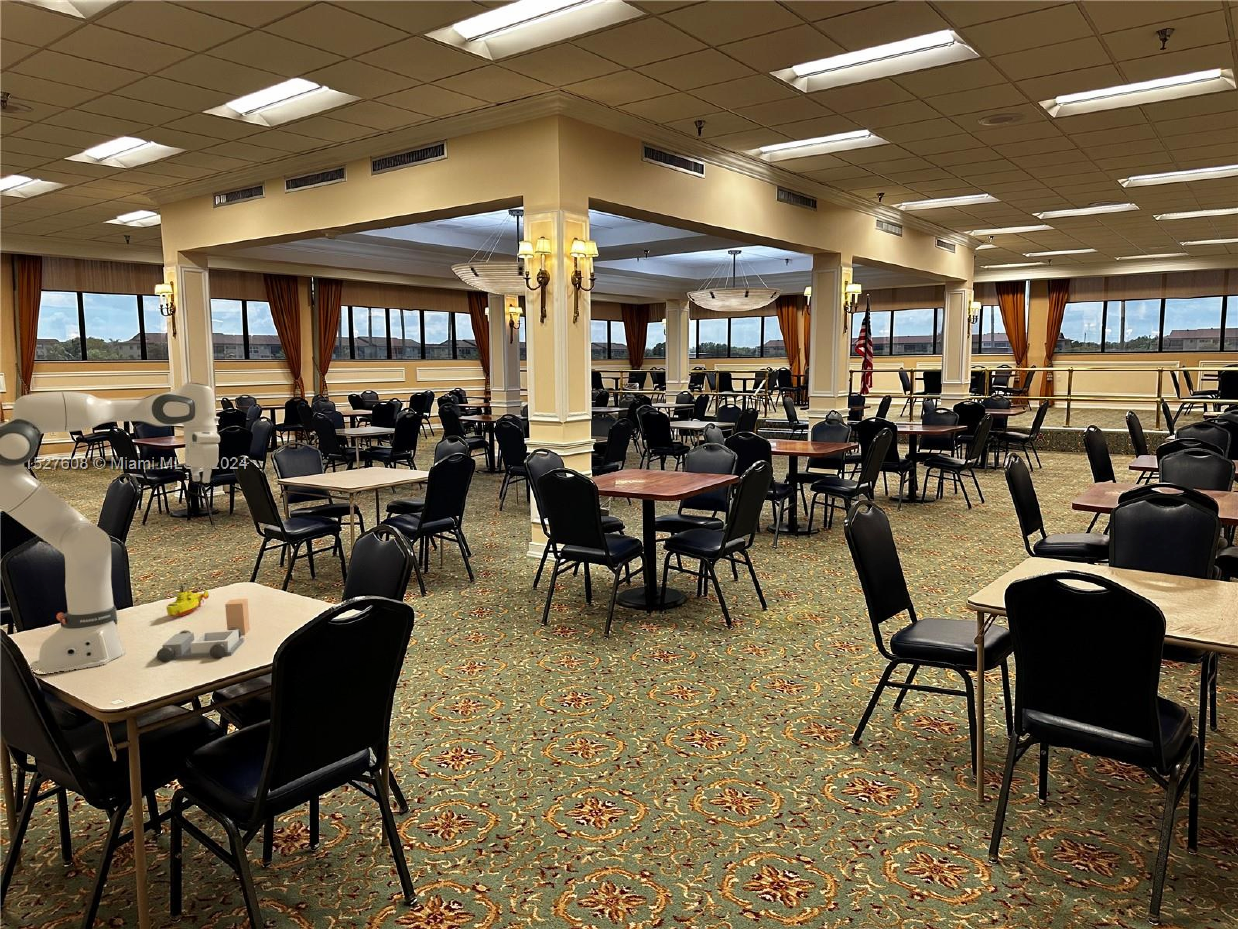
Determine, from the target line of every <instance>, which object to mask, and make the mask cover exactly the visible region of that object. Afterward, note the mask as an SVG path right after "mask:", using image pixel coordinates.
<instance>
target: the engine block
mask: <svg viewBox="0 0 1238 929" xmlns="http://www.w3.org/2000/svg"><path fill="white" fill-rule="evenodd" d="M224 607H225V618H226V627H227V628H226V629H227V630H229V629H230V628H232V627H237V628H239V629H240V630H241V631H242V636H245V635H246V634H247V633H248V632H249V631H251V627H250V615H249V604H248V598H237V599H230V600H229V601H228V602H226V603H225V605H224ZM227 630H226V631H227Z"/></svg>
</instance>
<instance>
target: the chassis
mask: <svg viewBox="0 0 1238 929" xmlns="http://www.w3.org/2000/svg"><path fill="white" fill-rule="evenodd" d="M242 636H243V635H242V631H241V630H240V629H239V628H237V627H232V628H230V629H229V630H216V631H214V630H213V631H203V632H201V633H200V634H199V635H198V636H197V637H195V634H194V632H191V631H189V630H185V629H183V630H182V631H180V632H179V633H176V634H174V635H173V636H171V637H170V638H169V639H168V640H167V641H166V642H164V643H163V644H162V648H160V649H159V650H158V651H157V652H156V656H155V658H156V661H160V662H161V663H168V662H170V661H171V660H172V661H173V660H181V659H182V660H184V659H185V658H186V659H196V658H195V657H200V658H214V659H217V660H218V659H221V658H223V657H226V656H232V655H233V654H234V653H235V652H236V651H237V650H238V649H239V647H240V646H241V645H242V644H243V643H244V641H245V640H244V637H243V638H242ZM186 659H185V660H186Z"/></svg>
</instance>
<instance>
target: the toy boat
mask: <svg viewBox="0 0 1238 929" xmlns="http://www.w3.org/2000/svg"><path fill="white" fill-rule="evenodd" d="M184 588H187V589H189V590H187V591H185V590H184ZM192 590H193V591H195V592H196V593H195V592H194V593H193V592H192ZM177 592H178V591H177ZM197 592H199V593H197ZM209 596H210V595H209V591H208V589H205V590H204V591H203V593H201V591H200V590H197V589H194V588H191V587H187V586H184V585H180V588H179V592H178V593H177V595H176V599H175V601H174V602H171V603H169V604H168V605H167V606H165V608H166V613H167V615H168V616H170V617H181V616H187V615H189V614H190V613H193V612H194V611H196V610H197V608H198V607H199V606H201V607H202V603H204V600H207V599H209Z"/></svg>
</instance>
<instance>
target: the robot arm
mask: <svg viewBox="0 0 1238 929" xmlns="http://www.w3.org/2000/svg"><path fill="white" fill-rule="evenodd" d="M215 398H216V397H215V393H214V390H213V388H212V387H211V386H209V385H207V384H203V383H200V382H199V383H198V382H185V384H184V385H181V386H180V387H177V388H176V389H173V390H171V391H168V392H163V393H153V394H150V395H147V396H146V397H142V398H141V399H140V398H139V399H134V400H131V399H130V400H128V399H127V400H126V399H125V400H124V399H122V400H116V399H114V400H113V399H112V400H111V399H109V400H108V399H103V398H99V397H97V396H94V395H93V394H90V393H85V392H75V391H50V392H49V391H48V392H47V391H46V392H37V393H33V394H32V393H31V394H25V395H21V396H20V397H18V398H17V399H16V400H15V402H14V403H13V407H12V417H11V419H10V420H9V421H6V422H0V510H2V511H3V512H5V513H6V514H7V515H9V517H12V518H13V519H14V520H15V521H17V522H18V523H20V524H21V525H22V526H23V527H25V528H26V529H28V530H29V531H30V532H31V533H33V534H34V535H36V536H37V537H39V538H41V539H42V540H43V541H45V542H47V543H48V544H49V545H51V546H52V548H54V549H56V550H58V551H59V552H60V553H62V555H63V557H64V563H65V564H64V568H65V569H64V571H65V579H64V580H65V583H64V588H65V589H64V590H65V598H66V606H67V612H65V613H64V612H58V613H57V614H56V619H57V620H58V621H59V622H60V623H59V624H60V627H59V628H58V629H57V630H56V631H55V632H54V633H52V634H51V635H50V636H48V638H46V639H45V640H44V641H43V642H42V644H41V646H40V649H39V656H38V658H37V659H35V660H33V661H32V662H31V663H30V668H31V667H32V669H33V670H34V671H36V670H38V669H39V671H41V672H43V673H44V672H45V673H49V672H50V673H51V672H57V671H64V672H69V670H70V671H75V670H74V669H76V670H81V669H87V667H88V668H93V667H99V665H100V666H103V664H104V665H106V664H108V663H109V662H111V661H112V660H115V659H117V658H119V657H121V656H122V655H124V654H125V653H126V650H125V648H124V645H123V643H122V640H121V638H120V637H121V636H120V635H119V631H118V613H117V611H118V610H117V608H116V605H115V604H114V597H113V596H114V594H113V588H112V544H111V542H112V541H111V538H110V536H109V535H108V533H107V532H105V531H104V530H103V529H102V528H100V527H99V526H98V525H96V524H95V523H93V522H92V521H91V520H90V519H88V518H87V517H85V515H83V514H81V512H79V511H78V510H77V509H75V508H74V507H73V506H72V505H70V504H69V503H68V502H67V501H65V500H64V499H63V498H61V497H60V496H59V495H58V494H56V493H55V492H54V491H52V490H51V489H50V488H49V487H47V486H46V485H44V484H43V483H42V482H41V481H39V480H38V479H37V478H36V477H34V476H33V475H32V474H30V472H28V470H27V469H26V468H25V463H27V462H29V461H30V460H31V459H32V458H33V457H34V456H35V455H36V452H37V449H38V447H39V446H38V445H39V442H40V439H41V436H42V434H47V433H65V432H67V433H68V432H70V433H71V432H78V431H84V430H89V429H93V428H96V427H97V426H99V425H103V424H106V423H111V422H113V423H114V422H116V423H117V422H143V423H145V424H148V425H150V426H154V427H160V428H161V427H167V426H168V427H169V426H170V427H171V426H174V425H178V424H182V425H183V442H184V443H185V445H184V446H185V447H184V464H185V466H186V467H190V473H191V475H192V477H191V478H192V481H193V482H200V481H201V482H202V483H203V484H206V483H207V484H209V483H210V482H211V475H212V469H213V468H214V469H215V468H217V466H218V463H219V448H220V447H219V443H220V442H221V436H220V434H219V433H218V432H217V424H216V422H215V420H216V419H215V416H216V399H215ZM200 468H202V477H201V475H200ZM201 479H202V480H201Z"/></svg>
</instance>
